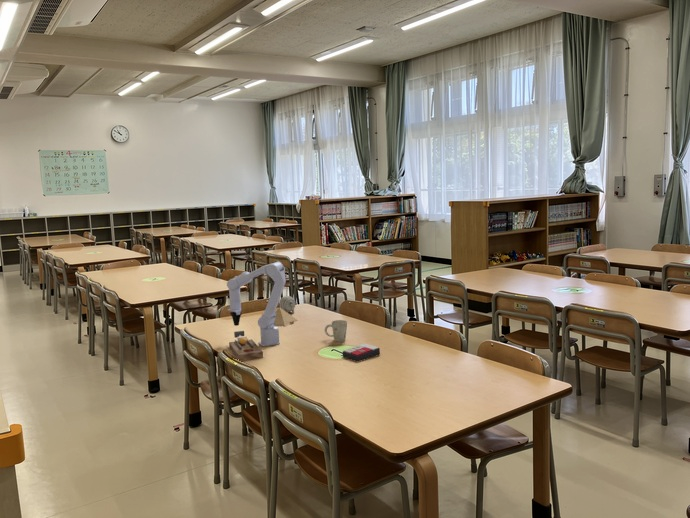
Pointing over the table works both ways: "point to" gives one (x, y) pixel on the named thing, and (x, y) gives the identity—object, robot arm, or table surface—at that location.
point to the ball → (243, 341)
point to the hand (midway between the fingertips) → (236, 325)
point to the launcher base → (246, 350)
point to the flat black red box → (361, 352)
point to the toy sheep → (287, 304)
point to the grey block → (239, 335)
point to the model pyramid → (283, 318)
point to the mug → (338, 330)
